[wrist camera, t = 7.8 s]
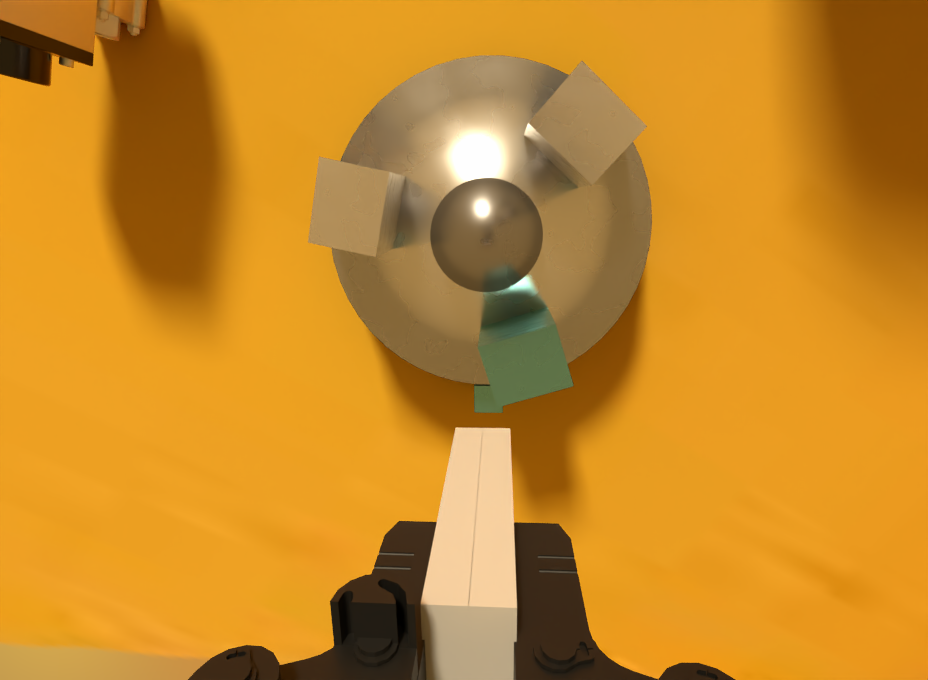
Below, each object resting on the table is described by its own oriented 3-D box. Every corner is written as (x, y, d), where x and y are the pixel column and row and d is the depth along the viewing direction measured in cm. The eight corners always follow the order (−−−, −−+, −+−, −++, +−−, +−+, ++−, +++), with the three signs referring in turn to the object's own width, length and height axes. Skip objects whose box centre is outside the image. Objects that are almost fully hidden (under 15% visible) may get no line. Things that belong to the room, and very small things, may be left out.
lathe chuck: (295, 129, 28) (241, 110, 22) (597, 16, 25) (626, -39, 20) (399, 405, 31) (376, 451, 25) (671, 326, 29) (714, 357, 23)
